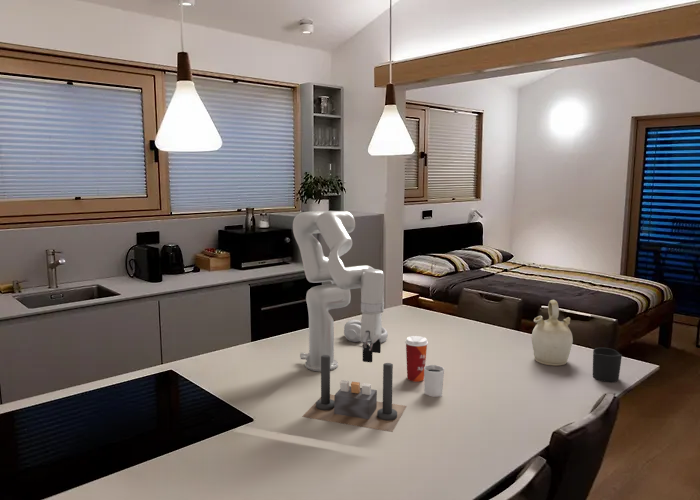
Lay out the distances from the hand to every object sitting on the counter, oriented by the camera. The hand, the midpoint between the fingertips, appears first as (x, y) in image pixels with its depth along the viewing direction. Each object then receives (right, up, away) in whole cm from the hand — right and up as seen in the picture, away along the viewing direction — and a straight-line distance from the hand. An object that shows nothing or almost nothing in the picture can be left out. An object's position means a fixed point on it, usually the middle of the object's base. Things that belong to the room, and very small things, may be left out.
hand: (371, 356), depth 177 cm
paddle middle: (-5, -8, -15) cm, 17 cm away
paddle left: (-9, -8, -13) cm, 18 cm away
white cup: (+21, -14, +1) cm, 25 cm away
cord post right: (+4, -14, -17) cm, 23 cm away
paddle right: (-2, -8, -16) cm, 18 cm away
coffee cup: (+17, -11, +17) cm, 26 cm away
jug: (+73, -9, +36) cm, 82 cm away
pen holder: (+87, -12, +19) cm, 90 cm away
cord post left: (-15, -13, -10) cm, 23 cm away
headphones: (0, -5, +63) cm, 63 cm away
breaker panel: (-5, -15, -13) cm, 21 cm away
